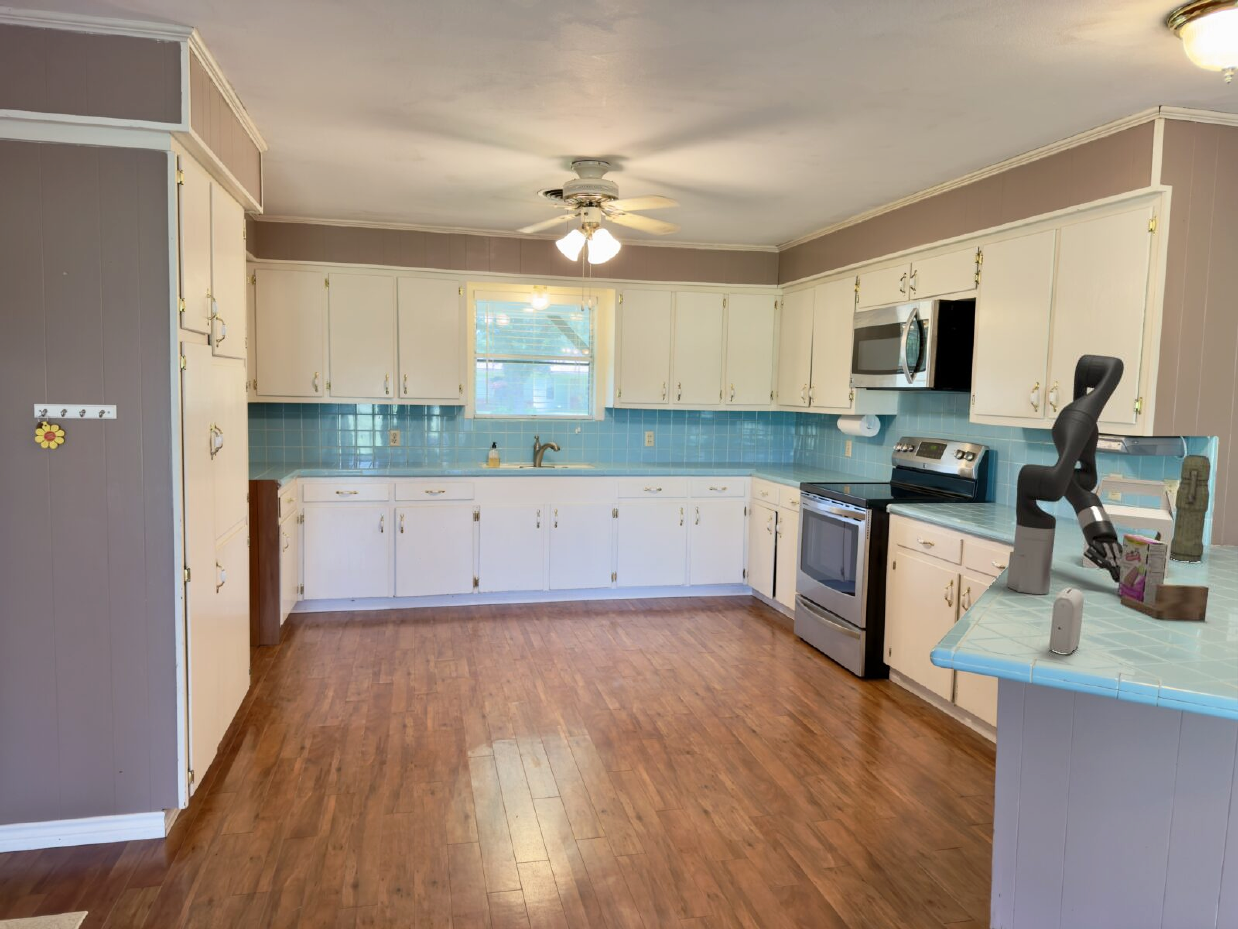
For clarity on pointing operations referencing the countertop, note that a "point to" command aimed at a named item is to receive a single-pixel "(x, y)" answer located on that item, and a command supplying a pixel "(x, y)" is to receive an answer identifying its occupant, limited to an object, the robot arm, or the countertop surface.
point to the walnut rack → (1174, 602)
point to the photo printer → (1066, 621)
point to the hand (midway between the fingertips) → (1120, 581)
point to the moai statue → (1191, 509)
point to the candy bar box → (1141, 568)
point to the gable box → (1138, 511)
